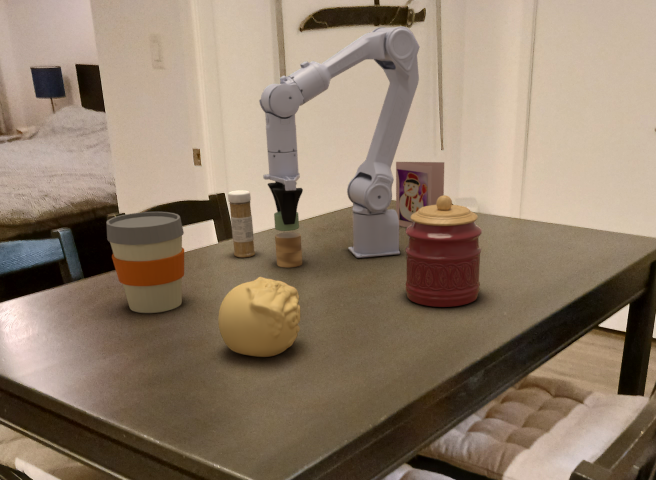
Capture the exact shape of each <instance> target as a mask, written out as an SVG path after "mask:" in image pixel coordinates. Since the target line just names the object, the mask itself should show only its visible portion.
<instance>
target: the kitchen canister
mask: <svg viewBox="0 0 656 480" xmlns="http://www.w3.org/2000/svg"><path fill="white" fill-rule="evenodd" d="M478 218H479V217H478V214H477V213H475V212H473V211H471V209H470V208H469V207H467V206H463V205H459V204H453V200H452V197H450V196H449V195H443V196H440V197H439V198H438V199H437V202H436V205H430V206H425V207H422V208H420V209H419V210H418V211H417V212H415V213H414V214H412V215H411V220H412V221H413V223H412V225H410V226H409V227H408V228H407V227H406V228H405V234H406V235H407V237H408V244H407V246H406V248H405V253H406V281H405V291H406V297H407V299H409V301H411V302H413V303H416V304H417V305H422V306H426V307H435V308H436V307H437V308H447V307H448V308H449V307H450V308H451V307H460V306H464V305H469V304H471V303H473V302H474V301H476V300H477V299H478V297H479V292H480V286H481V282H480V267H481V265H480V264H481V262H480V261H481V254H482V248H481V246H480V245H479V243H480V242H479V241H480V240H479V238H480V236H481V235H482V234H483V229H482V228H481V227H480V226H479V225H477V223H476V221H477V220H478Z"/></svg>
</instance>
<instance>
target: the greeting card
mask: <svg viewBox="0 0 656 480" xmlns="http://www.w3.org/2000/svg"><path fill="white" fill-rule="evenodd" d="M444 192H445V161H395V197H396V198H395V211H396V212H397V215H398V220H399V227H402V228H403V227H404V228H406V229H407V228H408V227H409V226H410V225H412V223H413V221H412V220H411V215H412V214H414V213H415V212H417V211H418V210H419V209H420V208H422V207H425V206H430V205H436V202H437V199H438V198H439V197H440V196H443V195H444Z"/></svg>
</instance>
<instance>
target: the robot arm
mask: <svg viewBox="0 0 656 480" xmlns="http://www.w3.org/2000/svg"><path fill="white" fill-rule="evenodd" d="M420 47H421V46H420V45H419V43H418V40H417V38H416V36H415V34H414V33H413V32H412V30H410V29H409V27H407V26H396V27H384V26H379V27H376V28H375V29H372V31H369V32H366V33H364V34H362V35H361V36H358V38H356V39H355V40H354V41H352V42H351V43H349V44H348V45H346V46H345V47H343V48H342V49H340V50H339V51H337V52H336V53H335V54H333V55H332V56H330V57H329V58H327V59H326V60H324V61H323V62H321V63H320V62H318V61H315V60H311V61H310V62H309V61H307V60H304V61H303V62H301V63H300V64H299V65H300V68H298V69H297V70H295V71H293V72H292V73H290V74H289V75H287V76H286V75H282V76H280V77H279V81H280V82H279V83H270V84H268V85H267V86H266V87H264V89H263V91H262V92H261V95H260V99H259V100H258V102H259V105H260V108H261V110H262V111H263V112H264V113H265V114H264V115H265V116H264V117H265V135H266V148H267V162H268V163H267V165H268V174H267V173H266V174H265V173H264V174H263V175H262V178H263V180H270V181H272V182H268V183H267V186H268V188H269V191H270V192H271V194H272V197H273V199H274V204H275V208H276V212H280V211H281V216H282V220H283V223H284V225H288V224H295V220H296V213H297V212H298V206H299V201H300V198H301V196H302V194H303V191H304V189H303V188H302V187H297V181H298V180H299V179H300V177H301V175H300V172H299V158H298V139H297V125H296V114H297V113H298V111H299V109H300V107H302V106H303V105H305V104H306V103H308V102H309V101H311V100H313V99H314V98H316V97H318V96H319V95H320V94H322V93H324V92H326V91H327V90H328V89H329V86H330V83H331V80H332V79H333V78H336V77H337V76H339V75H340V74H342V73H344V72H346V71H349V69H351V68H353V67H355V66H357V65H358V64H360V63H362V62H364V61H366V60H373V61H374V62H375V63H376V64H377V65H378V66H379V67H380V68H381V69H382V70H383V72H384V73H385V76H386V78H387V80H388V81H389V84H388V88H387V91H386V93H385V98H384V99H383V100H384V101H383V104H382V106H381V110H380V113H379V116H378V120H377V123H376V126H375V129H374V133H373V136H372V138H371V141H370V145H369V148H368V151H367V155H366V157H365V160H364V161H363V162H362V163H361V164H360V165H359V166H358V167H357V169H356V173H355V174H354V176H353V178H351V179H350V181H349V182H348V184H347V188H346V193H347V194H346V195H347V197H348V200H349V201H350V202H351V203H352V210H351V211H352V240H353V241H352V242H353V246H348V248H347V250H349V252H351V254H353V256H354V257H355V258H357V259H361V258H373V257H375V258H376V257H383V256H393V255H394V256H395V255H400V254H401V251H400V226H399V220H398V215H397V212H396V209H394V208H391V209H388V208H389V207H390V205H391V203H392V200H393V184H394V182H395V181H394V176H393V172H392V166H393V163H394V159H395V156H396V153H397V150H398V146H399V144H400V141H401V138H402V134H403V131H404V128H405V126H406V122H407V120H408V117H409V112H410V110H411V107H412V104H413V100H414V97H415V94H416V92H417V88H418V85H419V81H420V77H419V62H418V54H419V50H420ZM273 181H274V182H273Z"/></svg>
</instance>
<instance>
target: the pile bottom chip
mask: <svg viewBox="0 0 656 480" xmlns="http://www.w3.org/2000/svg"><path fill="white" fill-rule="evenodd" d="M302 250H303V249H301V250H300V251H298V252H293V253H281V252H277V251H276V250H275V257H276V266H278V267H280V268H286V269H287V268H297V267H300V266H302V265H303V251H302Z"/></svg>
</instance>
